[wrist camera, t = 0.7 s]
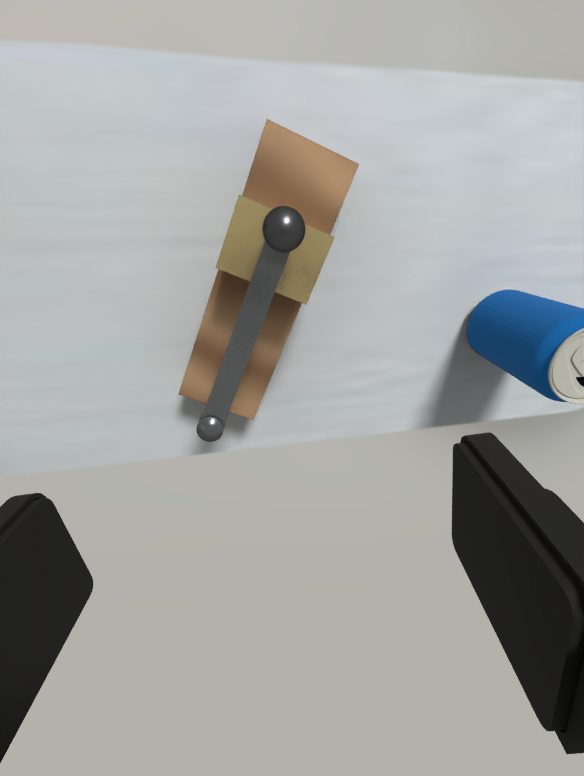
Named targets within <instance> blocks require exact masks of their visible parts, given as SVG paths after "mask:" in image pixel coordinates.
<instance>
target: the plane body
mask: <svg viewBox="0 0 584 776" xmlns="http://www.w3.org/2000/svg"><path fill="white" fill-rule="evenodd" d="M358 166H359V164H358V163H356V162H354V161H352V160H350V159H348V158H346V157H344V156H342V155H340V154H338V153H335V152H333V151H331V150H329V149H327V148H325V147H323V146H321V145H319V144H317V143H315V142H313V141H311V140H309V139H307V138H305V137H303V136H301V135H299V134H297V133H295V132H293V131H291V130H289V129H287V128H285V127H283V126H281V125H279V124H277V123H275V122H273V121H270V120H268V119H267V120H266V123H265V126H264V130H263V133H262V136H261V139H260V142H259V145H258V148H257V151H256V154H255V158H254V161H253V164H252V167H251V170H250V173H249V176H248V179H247V182H246V186H245V189H244V192H243V195H242V196H244V197H246V198H248V199H250V200H253V201H255V202H257V203H259V204H262V205H264V206H266V207H268V208H270V209H274V208H276V207H277V206H278V207H279V206H288V207H292V208H294V209H295V210H297V211H298V212H299V213H300V215H301V216H302V217H303V220H304V223H305V224H306V225H308V226H311V227H313V228H315V229H317V230H320V231H322V232H324V233H326V234H328V235H330V233H331V231H332V228H333V226H334V224H335V221H336V219H337V216H338V214H339V212H340V209H341V207H342V204H343V202H344V199H345V197H346V195H347V192H348V190H349V187H350V185H351V183H352V180H353V178H354V175H355V173H356V170H357V168H358ZM249 284H250V281H247V280H245V279H242V278H240V277H237V276H235V275H232V274H230V273H228V272H225V271H223V270H220V269H219V270H218V273H217V276H216V279H215V282H214V285H213V288H212V292H211V295H210V298H209V301H208V304H207V307H206V310H205V313H204V316H203V320H202V323H201V326H200V329H199V332H198V335H197V338H196V341H195V344H194V348H193V351H192V354H191V357H190V360H189V363H188V366H187V369H186V373H185V376H184V379H183V382H182V385H181V388H180V391H179V395H182V396H185V397H187V398H190V399H193V400H196V401H199V402H202V403H205V404H206V403H207V401H208V398H209V396H210V393H211V391H212V388H213V385H214V382H215V379H216V377H217V374H218V371H219V368H220V365H221V363H222V360H223V357H224V354H225V351H226V348H227V346H228V343H229V340H230V337H231V334H232V332H233V329H234V326H235V323H236V320H237V317H238V315H239V312H240V309H241V306H242V303H243V301H244V298H245V295H246V292H247V289H248V287H249ZM300 306H301V302H299V301H296V300H294V299H291V298H289V297H286V296H284V295H282V294H279V293H277V292H275V293H274V295H273V298H272V301H271V303H270V306H269V308H268V311H267V314H266V316H265V319H264V322H263V324H262V327H261V329H260V332H259V335H258V337H257V340H256V342H255V345H254V348H253V350H252V353H251V355H250V358H249V361H248V363H247V366H246V369H245V371H244V374H243V376H242V379H241V382H240V384H239V387H238V389H237V392H236V395H235V397H234V400H233V402H232V405H231V408H230V410H229V412H232V413H235V414H238V415H241V416H244V417H246V418H249V419H252V420H253V419H254V417H255V415H256V412H257V410H258V407H259V405H260V403H261V400H262V398H263V395H264V393H265V390H266V388H267V386H268V383H269V381H270V378H271V376H272V373H273V371H274V369H275V366H276V364H277V361H278V359H279V357H280V354H281V352H282V349H283V347H284V344H285V342H286V340H287V337H288V335H289V332H290V330H291V328H292V325H293V323H294V320H295V318H296V315H297V313H298V311H299V308H300Z"/></svg>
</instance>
